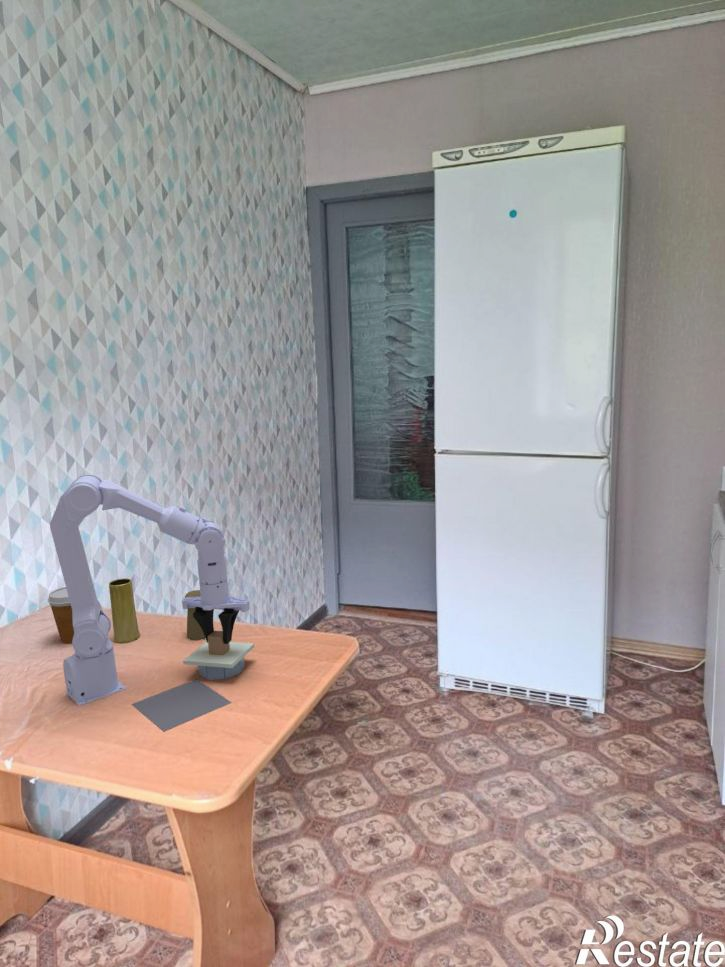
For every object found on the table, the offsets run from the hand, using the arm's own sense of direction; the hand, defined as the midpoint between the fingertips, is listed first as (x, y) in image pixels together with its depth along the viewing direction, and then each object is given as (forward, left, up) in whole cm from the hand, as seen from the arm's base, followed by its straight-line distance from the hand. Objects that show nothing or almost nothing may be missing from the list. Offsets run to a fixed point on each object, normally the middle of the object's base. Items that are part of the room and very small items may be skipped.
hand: (219, 641), depth 143 cm
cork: (+6, +21, -7) cm, 23 cm away
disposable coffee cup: (-16, +43, -7) cm, 46 cm away
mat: (-13, -7, -7) cm, 16 cm away
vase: (-7, +33, -7) cm, 34 cm away
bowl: (0, 0, -7) cm, 7 cm away
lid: (0, 0, -3) cm, 3 cm away
